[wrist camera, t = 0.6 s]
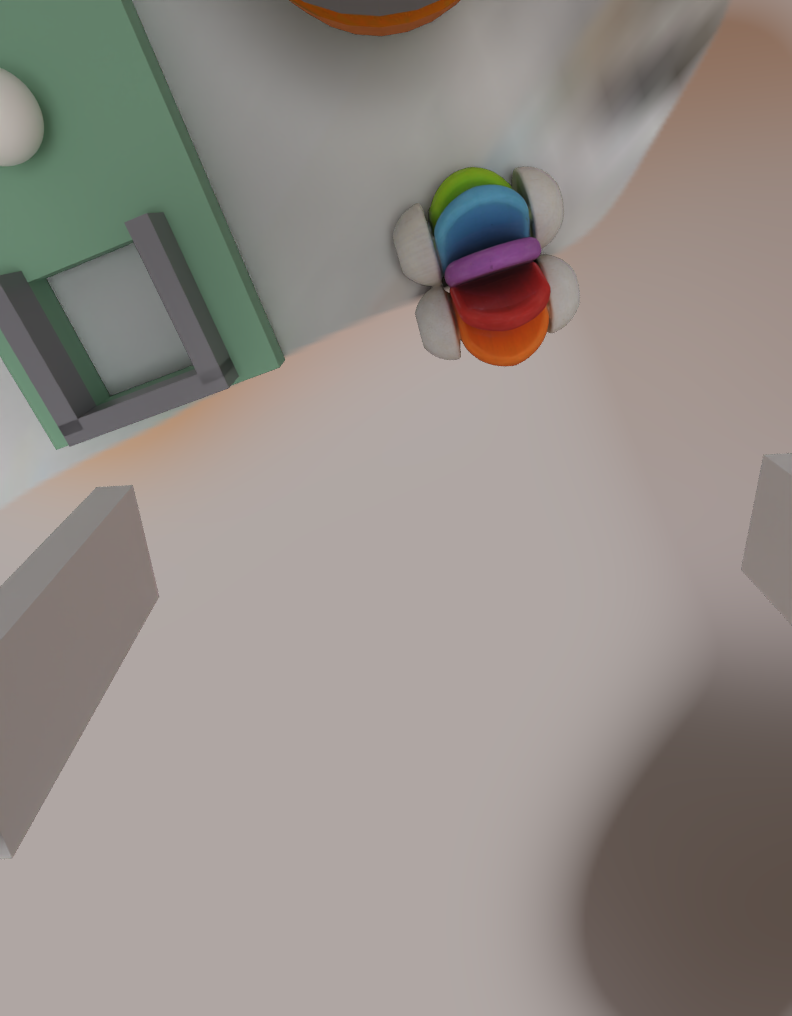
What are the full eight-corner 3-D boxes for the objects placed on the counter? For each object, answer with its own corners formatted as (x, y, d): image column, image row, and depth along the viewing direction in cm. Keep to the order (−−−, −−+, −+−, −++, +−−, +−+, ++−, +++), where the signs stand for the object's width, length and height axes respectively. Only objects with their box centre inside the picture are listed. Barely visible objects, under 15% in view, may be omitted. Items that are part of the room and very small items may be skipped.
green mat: (-200, -25, 32) (-237, -39, 30) (63, -159, 30) (41, -183, 28) (71, 438, 41) (56, 449, 39) (285, 359, 39) (279, 367, 37)
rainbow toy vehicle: (430, 372, 39) (438, 407, 33) (381, 196, 36) (378, 195, 29) (575, 329, 38) (613, 356, 32) (540, 143, 35) (575, 130, 28)
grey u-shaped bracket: (1, 279, 35) (-26, 284, 33) (163, 212, 34) (146, 213, 32) (88, 432, 39) (69, 446, 36) (239, 376, 37) (228, 388, 35)
